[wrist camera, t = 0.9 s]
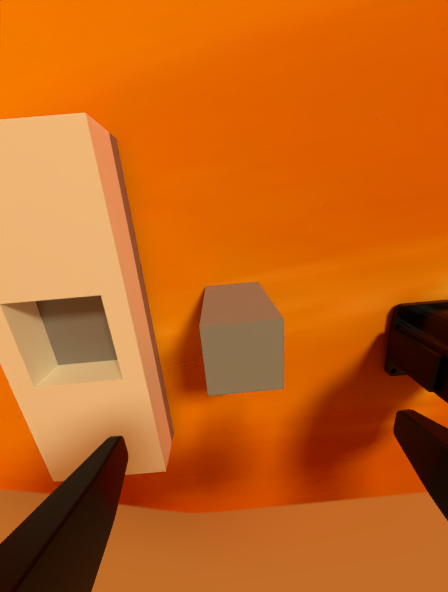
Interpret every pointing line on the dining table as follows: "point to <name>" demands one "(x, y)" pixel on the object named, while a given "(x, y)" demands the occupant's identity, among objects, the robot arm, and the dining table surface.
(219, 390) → the plug
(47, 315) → the cream socket panel
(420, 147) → the dining table surface
